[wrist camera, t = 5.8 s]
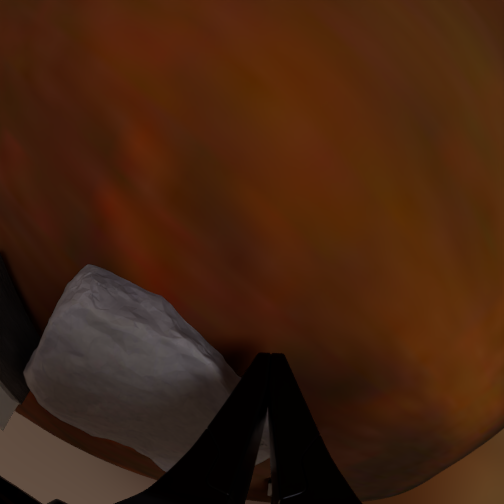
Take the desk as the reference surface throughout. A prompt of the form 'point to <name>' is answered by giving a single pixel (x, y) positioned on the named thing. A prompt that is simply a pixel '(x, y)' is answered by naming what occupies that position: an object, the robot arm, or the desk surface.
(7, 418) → the block
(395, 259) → the desk surface
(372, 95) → the desk surface
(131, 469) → the desk surface
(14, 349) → the black rectangular block
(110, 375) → the stone block
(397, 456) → the desk surface
